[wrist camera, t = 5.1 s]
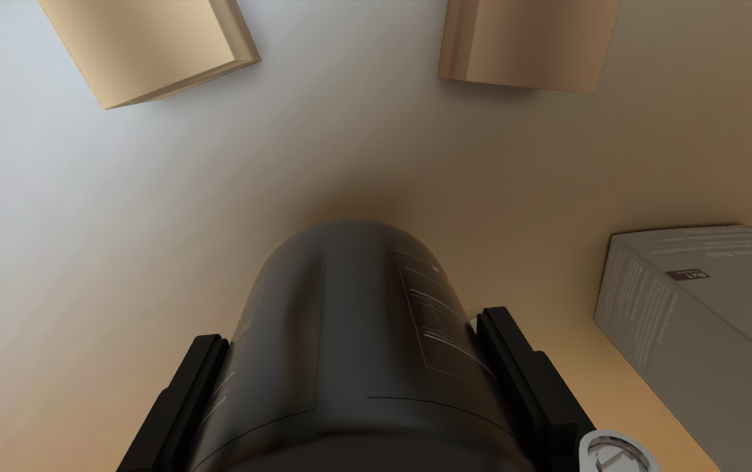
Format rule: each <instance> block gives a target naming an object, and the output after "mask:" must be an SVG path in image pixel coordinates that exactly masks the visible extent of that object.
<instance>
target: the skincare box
mask: <svg viewBox="0 0 752 472" xmlns="http://www.w3.org/2000/svg"><path fill="white" fill-rule="evenodd" d="M594 322H595V324H597V326H598V327H599V328H600V329H601V330H602V332H603V333H604V334H605V335H606V336H607V337H608V338H609V340H610V341H611V342H612V343H613V345H614V346H615V347H616V348H617V349H618V350H619V352H620V353H621V354H622V355H623V356H624V358H625V359H626V360H627V361H628V362H629V363H630V365H631V366H632V367H633V368H634V369H635V370H636V372H637V373H638V374H639V375H640V376H641V377H642V379H643V380H644V381H645V382H646V383H647V384H648V386H649V387H650V388H651V389H652V390H653V392H654V393H655V394H656V395H657V396H658V397H659V399H660V400H661V401H662V402H663V403H664V404H665V406H666V407H667V408H668V409H669V410H670V411H671V413H672V414H673V415H674V416H675V417H676V418H677V420H678V421H679V422H680V423H681V424H682V426H683V427H684V428H685V429H686V430H687V432H688V433H689V434H690V435H691V436H692V437H693V439H694V440H695V441H696V442H697V443H698V444H699V445H700V447H701V448H702V449H703V450H704V451H705V452H706V454H707V455H708V456H709V457H710V458H711V459H712V461H713V462H714V463H715V464H716V465H717V467H718V468H719V469H720V470H721V471H722V472H752V227H750V226H744V225H741V224H740V225H733V226H717V227H695V228H679V229H666V230H655V231H645V232H635V233H627V234H619V235H615V236H613V237H612V239H611V244H610V249H609V253H608V258H607V263H606V267H605V272H604V277H603V281H602V285H601V289H600V294H599V297H598V303H597V308H596V312H595V317H594Z"/></svg>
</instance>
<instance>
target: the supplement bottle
mask: <svg viewBox="0 0 752 472" xmlns="http://www.w3.org/2000/svg"><path fill="white" fill-rule="evenodd" d="M181 472H544V470H543V467H542V465H541V463H540V461H539V459H538V457H537V455H536V453H535V451H534V449H533V447H532V445H531V443H530V441H529V439H528V437H527V435H526V433H525V431H524V429H523V427H522V425H521V423H520V421H519V419H518V417H517V415H516V413H515V411H514V409H513V407H512V405H511V403H510V401H509V399H508V397H507V395H506V393H505V391H504V389H503V387H502V385H501V383H500V381H499V379H498V377H497V375H496V373H495V371H494V369H493V367H492V365H491V363H490V361H489V359H488V357H487V355H486V353H485V351H484V349H483V347H482V345H481V343H480V341H479V339H478V337H477V335H476V333H475V331H474V329H473V327H472V325H471V323H470V321H469V319H468V317H467V315H466V313H465V311H464V309H463V307H462V305H461V303H460V301H459V299H458V297H457V295H456V293H455V291H454V289H453V287H452V285H451V283H450V281H449V279H448V278H447V276H446V274H445V272H444V270H443V268H442V267H441V265H440V263H439V262H438V261H437V259H436V258H435V257H434V255H433V254H432V253H431V251H430V250H429V249H428V248H427V247H426V246H425V245H424V244H422V243H421V242H420V241H419V240H418V239H416V238H415V237H413V236H412V235H410V234H409V233H407V232H405V231H403V230H401V229H399V228H397V227H394V226H392V225H389V224H386V223H383V222H379V221H374V220H367V219H339V220H333V221H328V222H324V223H320V224H317V225H315V226H312V227H309V228H307V229H305V230H303V231H301V232H299V233H298V234H296V235H294V236H293V237H291V238H290V239H288V240H287V241H286V242H284V243H283V244H282V245H281V246H280V247H278V248H277V249H276V250H275V251H274V253H273V254H272V255H271V256H270V257H269V258H268V260H267V261H266V263H265V264H264V266H263V267H262V269H261V271H260V273H259V274H258V276H257V279H256V281H255V283H254V286H253V288H252V290H251V292H250V295H249V297H248V300H247V302H246V305H245V307H244V310H243V312H242V315H241V318H240V320H239V323H238V325H237V328H236V330H235V333H234V336H233V338H232V341H231V343H230V346H229V348H228V351H227V354H226V356H225V359H224V361H223V364H222V366H221V369H220V372H219V374H218V377H217V379H216V382H215V384H214V387H213V390H212V392H211V395H210V397H209V400H208V402H207V405H206V408H205V410H204V413H203V415H202V418H201V420H200V423H199V426H198V428H197V431H196V433H195V436H194V438H193V441H192V444H191V446H190V449H189V451H188V454H187V456H186V459H185V462H184V464H183V467H182V469H181Z"/></svg>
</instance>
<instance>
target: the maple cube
mask: <svg viewBox="0 0 752 472" xmlns="http://www.w3.org/2000/svg"><path fill="white" fill-rule="evenodd" d="M37 1H38V3H39V4H40V6H41V8H42V9H43V11H44V13H45V14H46V16H47V18H48V19H49V21H50V23H51V24H52V26H53V28H54V29H55V31H56V33H57V34H58V36H59V38H60V39H61V41H62V43H63V44H64V46H65V48H66V49H67V51H68V53H69V54H70V56H71V58H72V59H73V61H74V63H75V64H76V66H77V68H78V69H79V71H80V73H81V74H82V76H83V78H84V79H85V81H86V83H87V84H88V86H89V88H90V89H91V91H92V93H93V94H94V96H95V98H96V99H97V101H98V103H99V104H100V106H101V108H102V109H103V110H107V109H112V108H118V107H123V106H128V105H133V104H138V103H143V102H148V101H153V100H158V99H162V98H165V97H168V96H170V95H173V94H176V93H178V92H181V91H183V90H186V89H189V88H191V87H194V86H196V85H199V84H202V83H204V82H207V81H210V80H212V79H215V78H217V77H220V76H223V75H225V74H228V73H230V72H233V71H236V70H238V69H241V68H244V67H246V66H249V65H251V64H254V63H257V62H259V61H261V58H260V56H259V54H258V51H257V49H256V47H255V44H254V42H253V40H252V37H251V35H250V32H249V30H248V28H247V25H246V23H245V21H244V18H243V16H242V14H241V11H240V9H239V6H238V4H237V2H236V0H37Z"/></svg>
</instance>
